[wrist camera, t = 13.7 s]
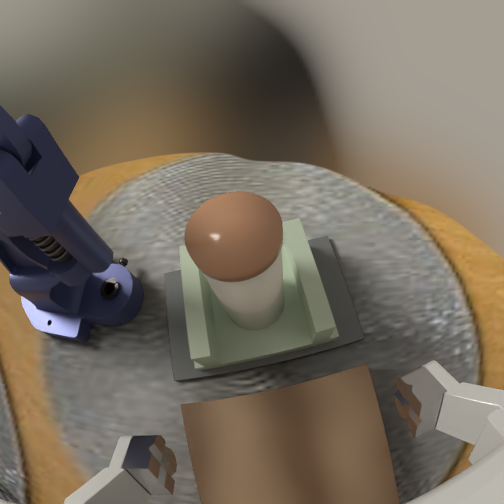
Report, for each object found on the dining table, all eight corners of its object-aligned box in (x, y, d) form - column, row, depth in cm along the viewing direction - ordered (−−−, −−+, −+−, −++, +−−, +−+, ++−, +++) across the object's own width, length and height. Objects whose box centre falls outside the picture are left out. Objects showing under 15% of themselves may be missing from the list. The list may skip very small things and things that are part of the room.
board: (222, 535, 13) (214, 548, 11) (192, 405, 18) (180, 404, 16) (388, 499, 13) (400, 508, 11) (358, 368, 18) (367, 363, 16)
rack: (199, 370, 19) (179, 361, 16) (187, 274, 24) (170, 248, 20) (336, 339, 19) (347, 323, 16) (306, 246, 24) (308, 216, 20)
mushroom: (229, 337, 19) (188, 284, 12) (220, 281, 22) (182, 204, 14) (292, 323, 19) (294, 259, 12) (277, 268, 22) (269, 183, 14)
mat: (176, 381, 19) (174, 380, 19) (166, 275, 24) (164, 273, 24) (363, 339, 19) (364, 338, 19) (327, 238, 24) (327, 236, 24)
